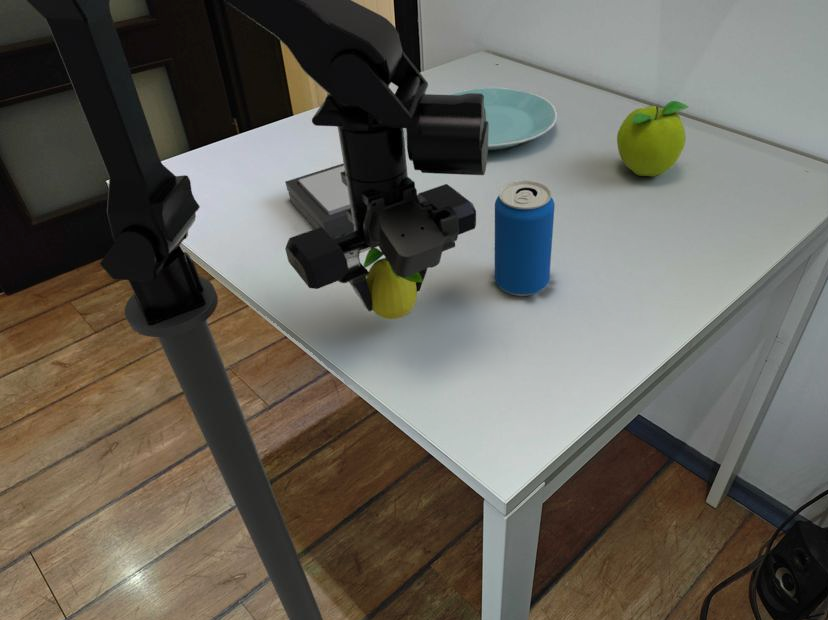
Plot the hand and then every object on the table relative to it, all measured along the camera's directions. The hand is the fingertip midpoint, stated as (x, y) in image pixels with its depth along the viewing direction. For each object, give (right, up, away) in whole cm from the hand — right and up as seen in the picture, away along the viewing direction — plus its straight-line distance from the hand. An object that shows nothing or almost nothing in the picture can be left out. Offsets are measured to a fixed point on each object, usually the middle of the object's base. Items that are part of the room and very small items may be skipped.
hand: (392, 299), depth 72 cm
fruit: (+34, +21, +26) cm, 48 cm away
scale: (-8, +15, +21) cm, 27 cm away
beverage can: (+15, +2, +8) cm, 17 cm away
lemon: (0, -2, +2) cm, 3 cm away
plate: (+12, +30, +38) cm, 50 cm away
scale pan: (-8, +16, +20) cm, 27 cm away
